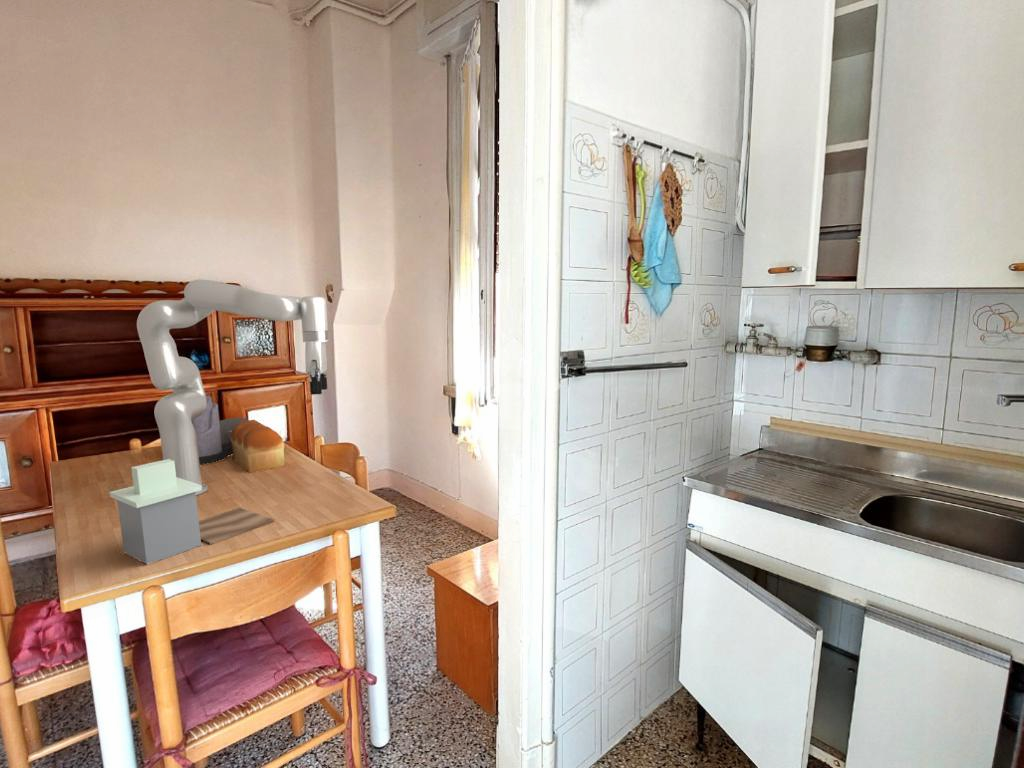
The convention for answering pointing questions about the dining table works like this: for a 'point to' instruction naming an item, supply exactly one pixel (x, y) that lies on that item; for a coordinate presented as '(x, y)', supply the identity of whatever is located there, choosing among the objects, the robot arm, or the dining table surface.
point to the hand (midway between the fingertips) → (319, 391)
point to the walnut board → (230, 524)
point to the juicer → (213, 434)
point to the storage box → (160, 528)
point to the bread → (257, 446)
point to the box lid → (154, 485)
